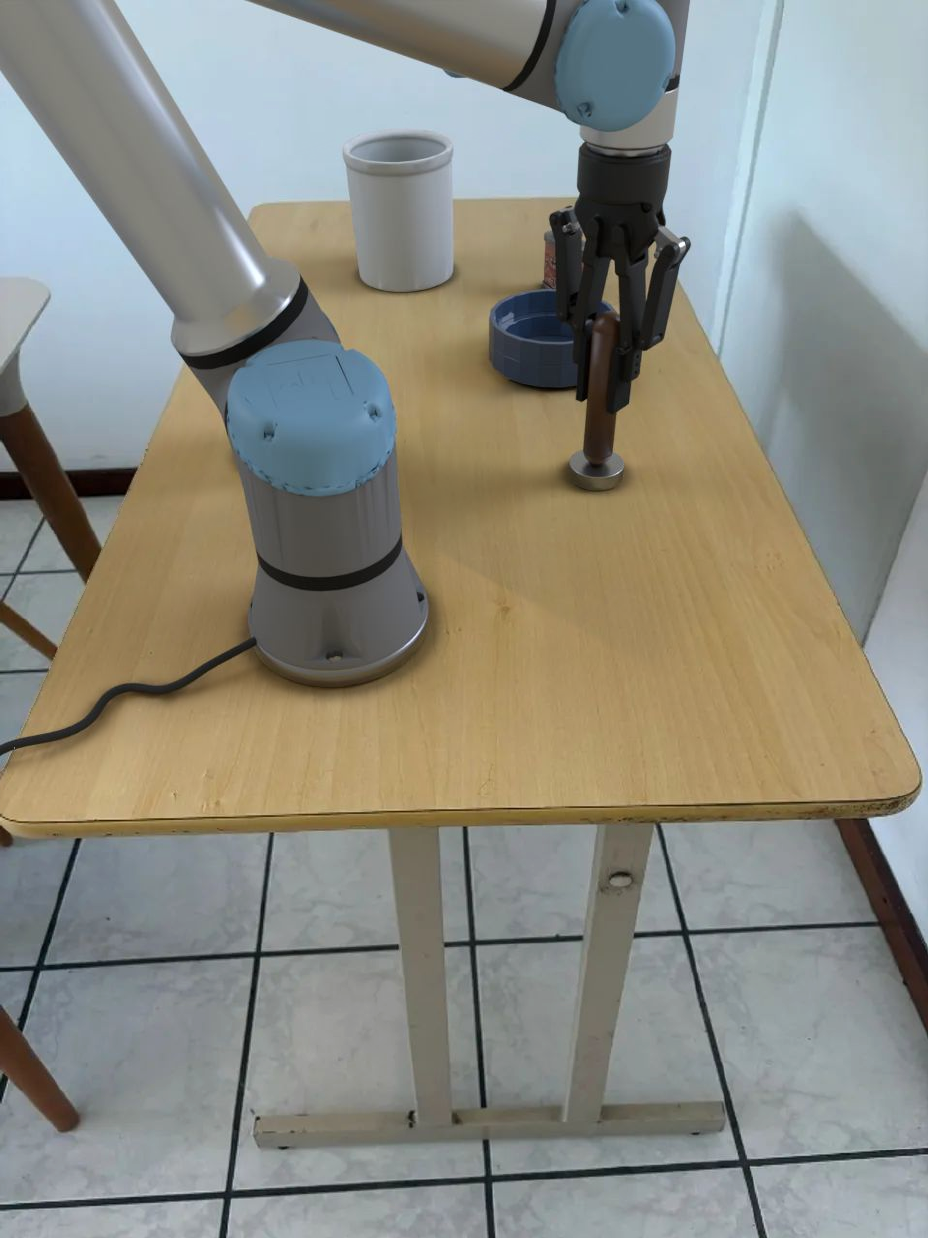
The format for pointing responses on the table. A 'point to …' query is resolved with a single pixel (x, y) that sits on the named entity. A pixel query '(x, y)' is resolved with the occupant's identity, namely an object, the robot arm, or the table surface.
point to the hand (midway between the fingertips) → (602, 401)
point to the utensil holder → (401, 207)
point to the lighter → (552, 261)
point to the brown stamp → (599, 414)
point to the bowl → (533, 340)
